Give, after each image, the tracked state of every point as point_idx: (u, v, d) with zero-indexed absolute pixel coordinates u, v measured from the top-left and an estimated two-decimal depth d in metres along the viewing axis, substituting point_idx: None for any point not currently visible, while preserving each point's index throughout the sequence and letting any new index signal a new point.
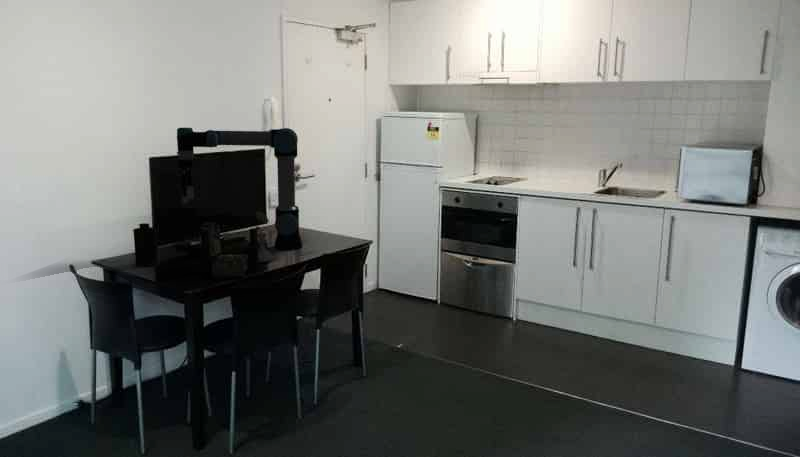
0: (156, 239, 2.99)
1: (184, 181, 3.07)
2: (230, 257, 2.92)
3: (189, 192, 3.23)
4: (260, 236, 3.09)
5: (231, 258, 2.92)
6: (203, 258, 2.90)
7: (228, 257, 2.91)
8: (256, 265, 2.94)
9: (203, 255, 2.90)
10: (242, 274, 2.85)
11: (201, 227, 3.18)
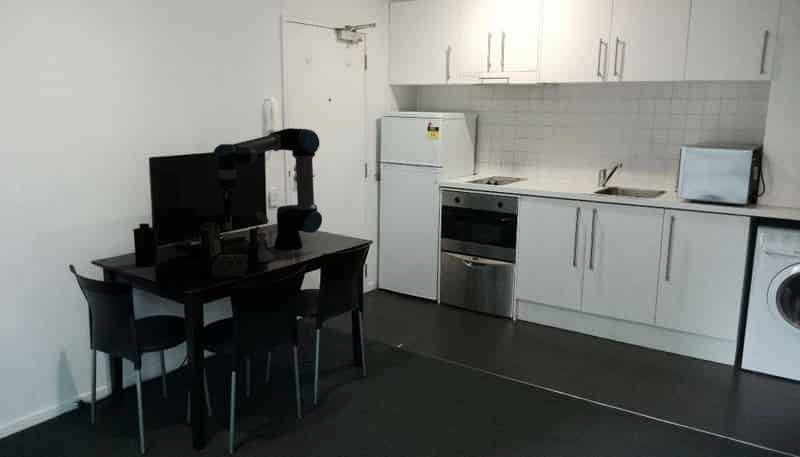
0: (156, 239, 2.99)
1: (227, 207, 2.84)
2: (230, 257, 2.92)
3: None
4: (260, 236, 3.09)
5: (231, 258, 2.92)
6: (203, 258, 2.90)
7: (228, 257, 2.91)
8: (256, 265, 2.94)
9: (203, 255, 2.90)
10: (242, 274, 2.85)
11: (201, 227, 3.18)
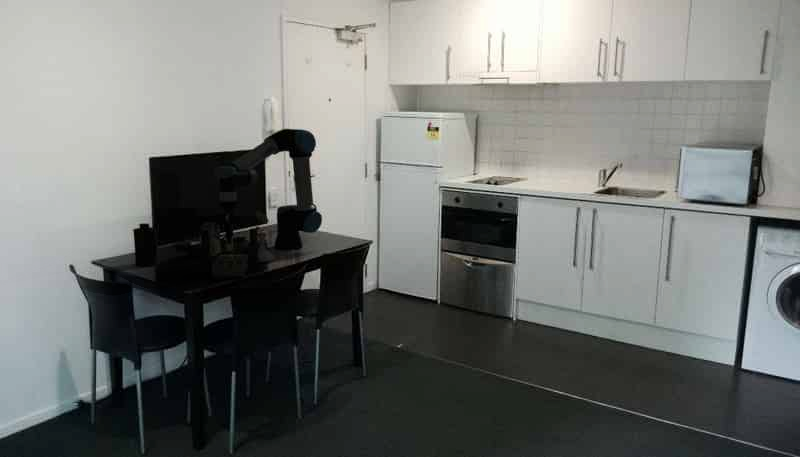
0: (156, 239, 2.99)
1: (228, 229, 2.86)
2: (230, 257, 2.92)
3: None
4: (260, 236, 3.09)
5: (231, 258, 2.92)
6: (203, 258, 2.90)
7: (228, 257, 2.91)
8: (256, 265, 2.94)
9: (203, 255, 2.90)
10: (242, 274, 2.85)
11: (201, 227, 3.18)
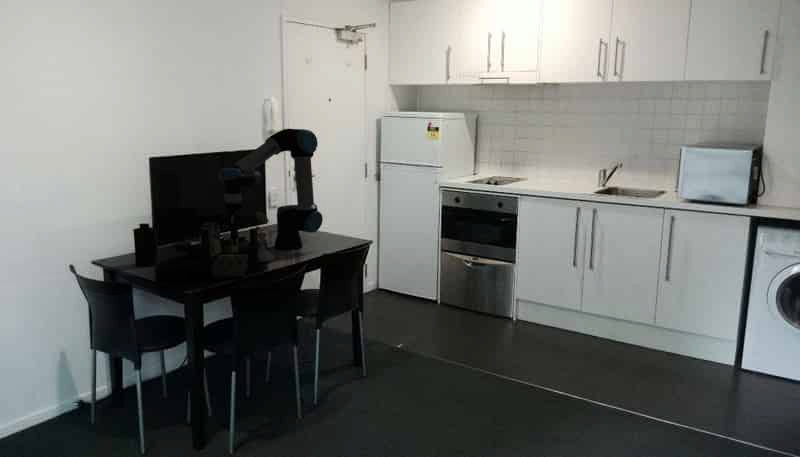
0: (156, 239, 2.99)
1: (233, 231, 2.87)
2: (230, 257, 2.92)
3: None
4: (260, 236, 3.09)
5: (231, 258, 2.92)
6: (203, 258, 2.90)
7: (228, 257, 2.91)
8: (256, 265, 2.94)
9: (203, 255, 2.90)
10: (242, 274, 2.85)
11: (201, 227, 3.18)
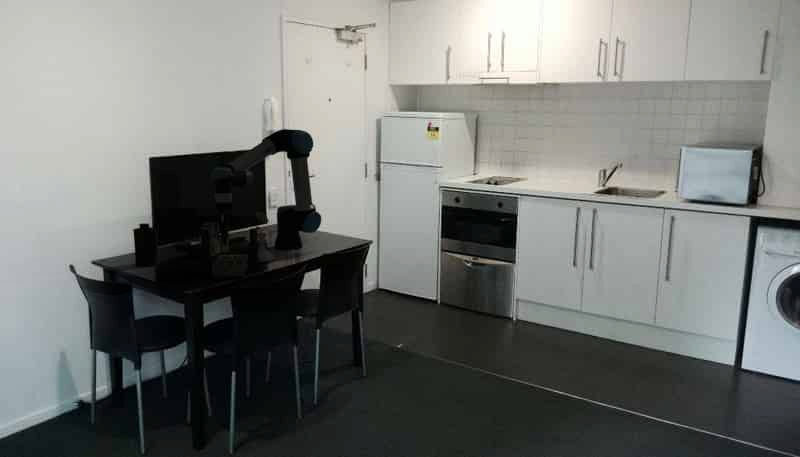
0: (156, 239, 2.99)
1: (224, 230, 2.86)
2: (230, 257, 2.92)
3: None
4: (260, 236, 3.09)
5: (231, 258, 2.92)
6: (203, 258, 2.90)
7: (228, 257, 2.91)
8: (256, 265, 2.94)
9: (203, 255, 2.90)
10: (242, 274, 2.85)
11: (201, 227, 3.18)
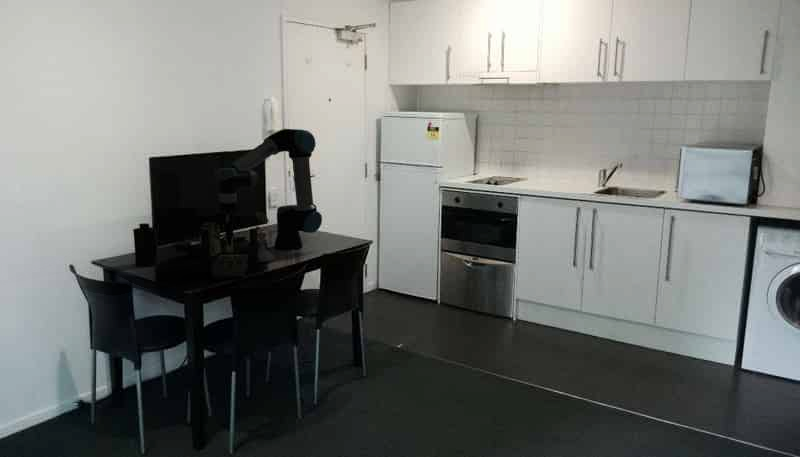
0: (156, 239, 2.99)
1: (228, 230, 2.86)
2: (230, 257, 2.92)
3: None
4: (260, 236, 3.09)
5: (231, 258, 2.92)
6: (203, 258, 2.90)
7: (228, 257, 2.91)
8: (256, 265, 2.94)
9: (203, 255, 2.90)
10: (242, 274, 2.85)
11: (201, 227, 3.18)
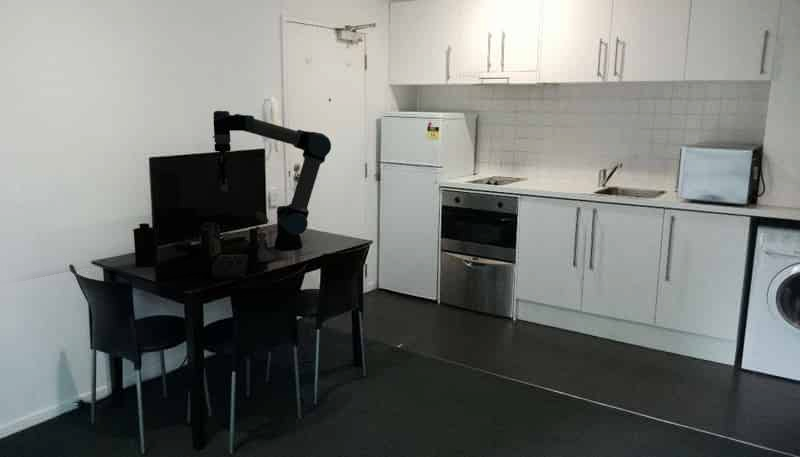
0: (156, 239, 2.99)
1: (223, 170, 3.04)
2: (230, 257, 2.92)
3: None
4: (260, 236, 3.09)
5: (231, 258, 2.92)
6: (203, 258, 2.90)
7: (228, 257, 2.91)
8: (256, 265, 2.94)
9: (203, 255, 2.90)
10: (242, 274, 2.85)
11: (201, 227, 3.18)
